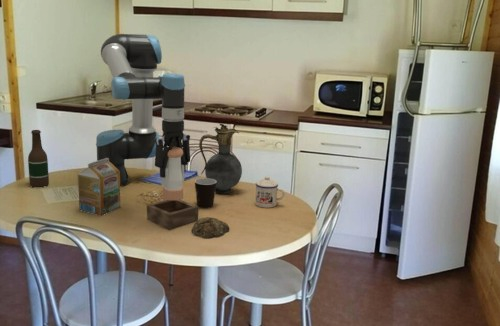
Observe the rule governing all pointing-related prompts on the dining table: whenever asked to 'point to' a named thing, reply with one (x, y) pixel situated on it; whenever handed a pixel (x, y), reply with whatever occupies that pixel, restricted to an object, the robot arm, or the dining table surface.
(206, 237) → the bread roll
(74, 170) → the dining table surface
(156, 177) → the dish towel
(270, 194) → the teacup with lid
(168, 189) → the pepper shaker
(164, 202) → the square wooden tray
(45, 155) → the beer bottle
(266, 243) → the dining table surface
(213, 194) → the coffee mug
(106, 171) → the milk carton
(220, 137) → the pitcher
